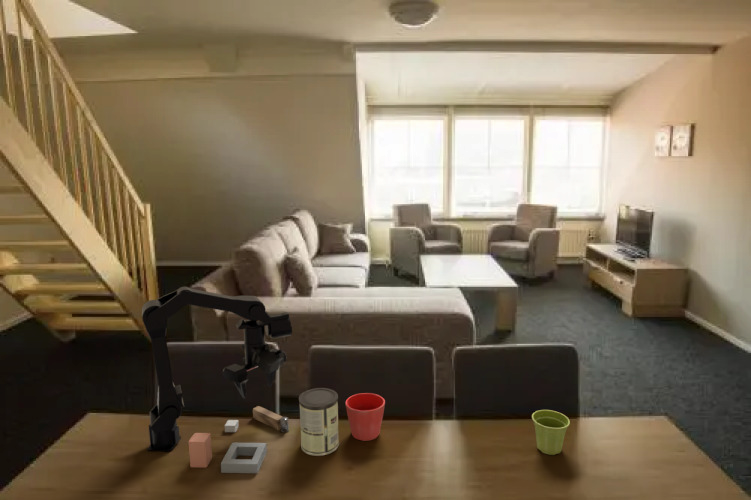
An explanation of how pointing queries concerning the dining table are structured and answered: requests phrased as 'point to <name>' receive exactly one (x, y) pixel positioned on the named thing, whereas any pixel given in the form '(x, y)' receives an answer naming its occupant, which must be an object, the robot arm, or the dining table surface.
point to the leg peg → (200, 450)
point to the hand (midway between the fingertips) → (257, 392)
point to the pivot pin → (284, 424)
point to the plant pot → (550, 430)
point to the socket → (244, 465)
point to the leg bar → (267, 417)
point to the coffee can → (319, 421)
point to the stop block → (231, 426)
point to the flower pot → (365, 415)
